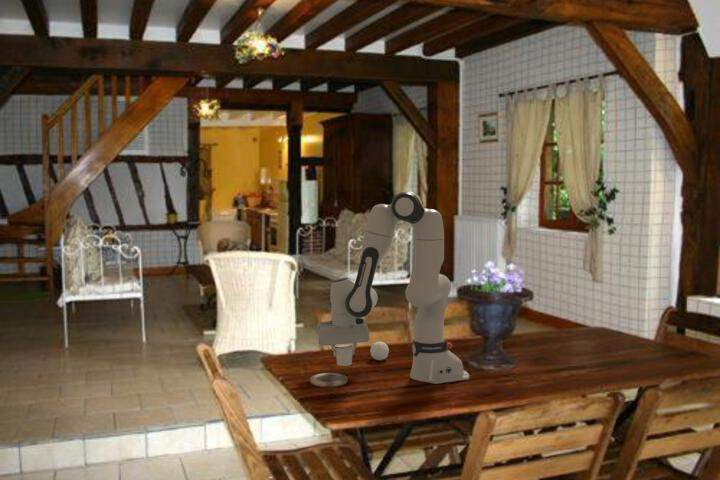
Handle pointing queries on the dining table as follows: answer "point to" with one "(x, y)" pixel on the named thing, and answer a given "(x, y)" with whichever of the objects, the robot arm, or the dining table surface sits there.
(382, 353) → the geometric ball
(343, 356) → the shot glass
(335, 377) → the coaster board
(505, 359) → the dining table surface
